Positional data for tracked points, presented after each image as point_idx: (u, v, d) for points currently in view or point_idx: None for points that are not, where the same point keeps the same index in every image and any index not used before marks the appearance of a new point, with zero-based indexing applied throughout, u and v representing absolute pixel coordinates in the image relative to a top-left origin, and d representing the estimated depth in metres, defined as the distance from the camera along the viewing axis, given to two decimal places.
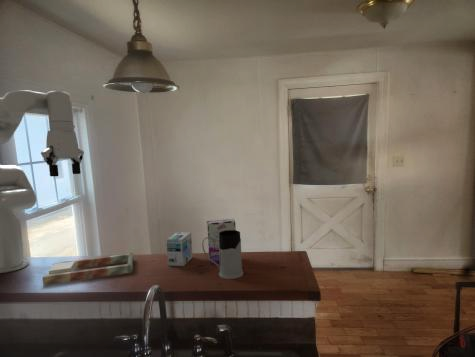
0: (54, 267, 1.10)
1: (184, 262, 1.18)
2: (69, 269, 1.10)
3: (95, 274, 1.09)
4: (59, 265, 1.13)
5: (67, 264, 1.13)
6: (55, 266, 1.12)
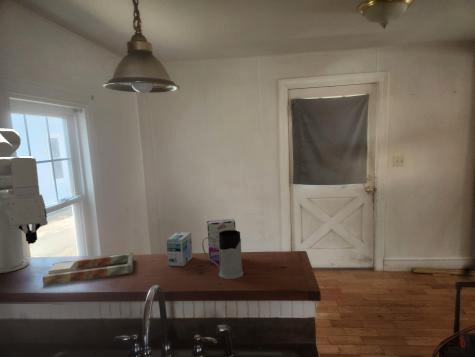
0: (54, 267, 1.10)
1: (184, 262, 1.18)
2: (68, 269, 1.09)
3: (95, 274, 1.09)
4: (59, 265, 1.13)
5: (67, 264, 1.13)
6: (55, 266, 1.12)
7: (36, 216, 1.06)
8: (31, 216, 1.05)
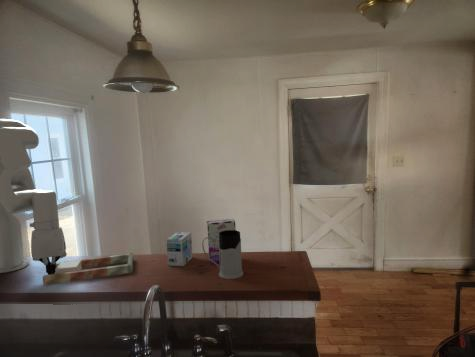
0: (61, 266, 1.11)
1: (184, 262, 1.18)
2: (75, 268, 1.10)
3: (95, 274, 1.09)
4: (65, 264, 1.14)
5: (73, 263, 1.14)
6: (62, 265, 1.13)
7: (56, 249, 1.08)
8: (51, 249, 1.08)
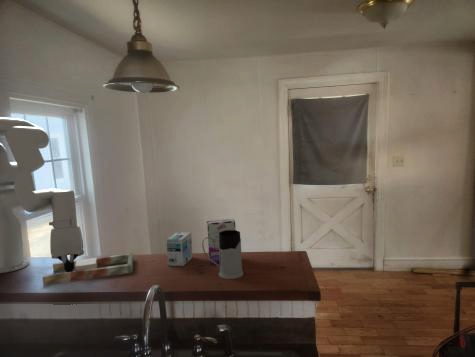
0: (79, 263, 1.14)
1: (184, 262, 1.18)
2: (94, 264, 1.14)
3: (95, 274, 1.09)
4: (83, 261, 1.16)
5: (90, 260, 1.17)
6: (79, 262, 1.15)
7: (75, 247, 1.10)
8: (70, 247, 1.10)
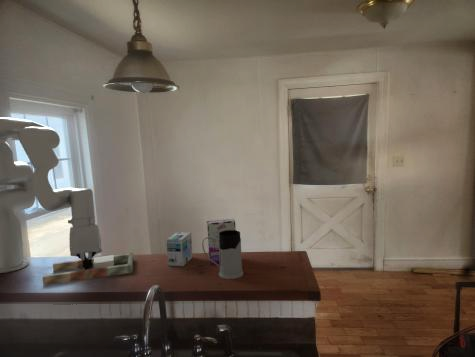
0: (97, 260, 1.16)
1: (184, 262, 1.18)
2: (112, 261, 1.16)
3: (95, 274, 1.09)
4: (100, 258, 1.18)
5: (108, 257, 1.19)
6: (97, 259, 1.17)
7: (93, 245, 1.12)
8: (89, 245, 1.11)
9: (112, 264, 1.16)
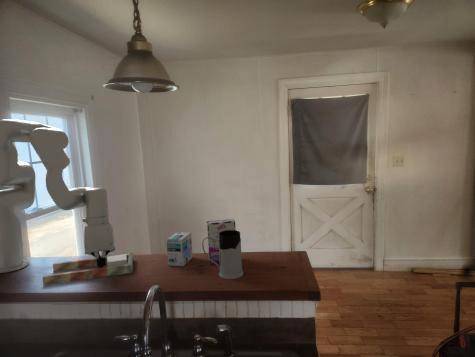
0: (111, 259, 1.17)
1: (184, 262, 1.18)
2: (125, 260, 1.17)
3: (95, 274, 1.09)
4: (113, 257, 1.20)
5: (121, 256, 1.21)
6: (110, 258, 1.18)
7: (107, 243, 1.13)
8: (103, 243, 1.13)
9: (125, 263, 1.17)
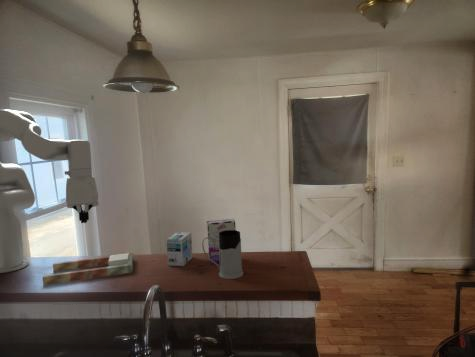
0: (112, 258, 1.18)
1: (184, 262, 1.18)
2: (126, 260, 1.17)
3: (95, 274, 1.09)
4: (115, 256, 1.20)
5: (123, 255, 1.21)
6: (112, 257, 1.19)
7: (90, 197, 1.11)
8: (85, 197, 1.10)
9: (126, 262, 1.17)
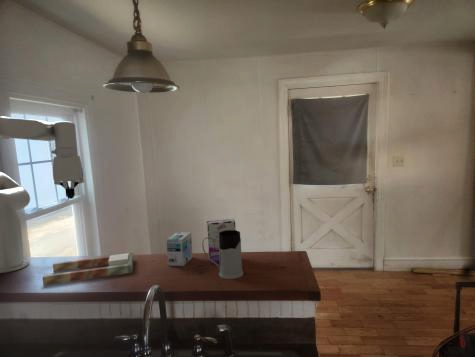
0: (112, 258, 1.18)
1: (184, 262, 1.18)
2: (126, 260, 1.17)
3: (95, 274, 1.09)
4: (115, 256, 1.20)
5: (123, 255, 1.21)
6: (112, 257, 1.19)
7: (75, 174, 1.20)
8: (71, 174, 1.20)
9: (126, 262, 1.17)
